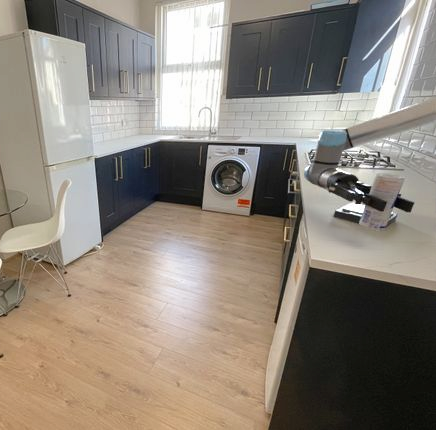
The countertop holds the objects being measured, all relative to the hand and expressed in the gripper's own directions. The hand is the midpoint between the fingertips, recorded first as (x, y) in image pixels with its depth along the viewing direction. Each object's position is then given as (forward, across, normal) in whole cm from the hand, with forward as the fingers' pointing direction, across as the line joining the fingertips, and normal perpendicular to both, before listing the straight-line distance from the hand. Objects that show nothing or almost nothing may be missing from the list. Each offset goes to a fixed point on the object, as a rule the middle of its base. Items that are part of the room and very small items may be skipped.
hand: (397, 206), depth 71 cm
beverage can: (-5, 0, -8) cm, 10 cm away
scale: (-29, -16, -15) cm, 37 cm away
